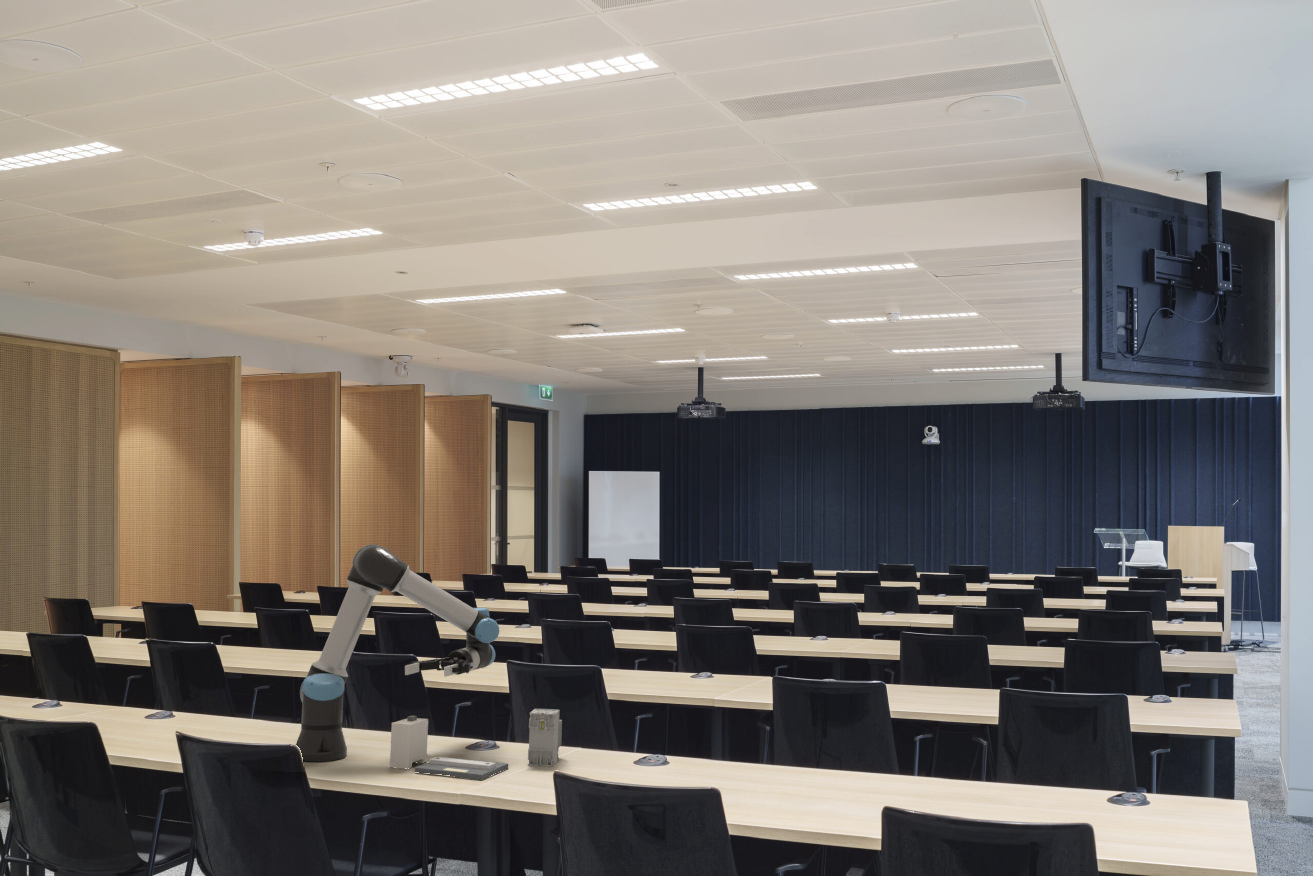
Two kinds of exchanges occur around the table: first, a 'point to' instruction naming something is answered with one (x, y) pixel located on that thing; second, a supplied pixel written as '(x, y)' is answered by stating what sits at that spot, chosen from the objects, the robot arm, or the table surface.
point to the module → (408, 742)
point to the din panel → (461, 767)
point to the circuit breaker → (544, 736)
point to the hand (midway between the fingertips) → (425, 671)
